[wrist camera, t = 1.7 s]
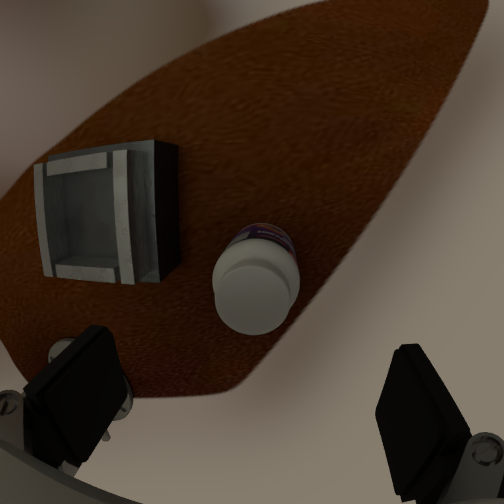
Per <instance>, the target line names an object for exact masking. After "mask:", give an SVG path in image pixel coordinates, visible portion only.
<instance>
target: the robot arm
mask: <svg viewBox="0 0 504 504" xmlns="http://www.w3.org/2000/svg"><path fill="white" fill-rule="evenodd" d="M48 362H49V364H48V365H47V366H46V367H45V368H44V369H43V370H42V371H41V372H39V373H38V374H37V375H36V376H35V377H34V378H33V379H32V380H31V381H30V382H29V383H28V384H27V385H26V386H25V387H24V388H23V390H24V392H23V393H22V394H20V393H19V392H17V391H14V390H4V391H1V392H0V504H142V503H138V502H135V501H132V500H129V499H126V498H123V497H120V496H118V495H115V494H112V493H109V492H107V491H104V490H102V489H99V488H97V487H94V486H92V485H90V484H87V483H85V482H83V481H80V480H78V479H76V478H74V476H75V474H76V472H77V471H78V469H79V468H80V466H81V464H82V463H83V462H86V461H87V460H88V459H89V457H90V455H91V454H92V452H93V451H94V449H95V447H96V446H97V444H98V443H99V441H100V439H102V440H103V441H109V439H110V435H109V433H108V431H107V428H108V427H109V425H110V424H111V422H112V421H116V420H121V419H123V418H125V417H126V416H127V415H128V413H129V412H130V410H131V408H132V404H133V394H132V391H131V387H130V385H129V383H128V381H127V379H126V378H125V376H124V375H123V372H122V369H121V365H120V361H119V357H118V354H117V350H116V346H115V341H114V337H113V334H112V333H111V332H110V331H109V329H108V328H107V327H104V326H99V325H90V326H89V327H88V328H87V329H86V330H85V331H84V332H82V333H81V334H80V335H79V336H78V337H77V338H76V339H75V338H64V339H61V340H59V341H58V342H56V343H55V344H54V345H53V346H52V347H51V349H50V351H49V355H48ZM375 416H376V421H377V424H378V428H379V431H380V435H381V438H382V442H383V446H384V450H385V454H386V457H387V462H388V466H389V469H390V474H391V478H392V482H393V486H394V491H395V493H396V495H400V496H401V501H402V502H407V501H411V500H416V504H504V441H503V440H502V439H501V438H500V437H499V436H497V435H495V434H493V433H488V432H482V433H478V434H476V435H474V436H472V434H471V433H470V428H469V426H468V425H467V423H466V421H465V419H464V417H463V416H462V414H461V412H460V410H459V409H458V407H457V405H456V403H455V401H454V400H453V398H452V396H451V395H450V393H449V391H448V390H447V388H446V386H445V385H444V383H443V381H442V380H441V378H440V377H439V375H438V373H437V372H436V370H435V368H434V367H433V365H432V364H431V362H430V360H429V359H428V357H427V356H426V354H425V353H424V351H423V350H422V348H421V347H420V345H419V344H402V345H401V346H400V347H399V349H396V350H395V351H394V354H393V358H392V361H391V364H390V368H389V371H388V375H387V378H386V381H385V384H384V387H383V390H382V393H381V396H380V399H379V402H378V404H377V407H376V411H375Z"/></svg>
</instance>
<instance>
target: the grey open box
mask: <svg viewBox="0 0 504 504" xmlns="http://www.w3.org/2000/svg"><path fill="white" fill-rule="evenodd" d="M34 188H35V206H36V218H37V228H38V236H39V244H40V251H41V258H42V264H43V270H44V275H45V276H50V277H54V276H55V275H57V277H59V278H68V279H78V280H88V281H99V282H110V283H116V282H117V281H119V280H121V282H122V284H133V285H135V284H136V283H137V282H138V281H141V282H155V283H160V282H161V281H162V280H163V279H164V278H165V277H166V276H167V275H168V274H170V273H171V272H172V271H173V270H174V269H175V268H176V267H177V266H178V265H179V264H180V263H181V257H180V237H179V211H178V145H174V144H170V143H166V142H162V141H158V140H145V141H137V142H128V143H121V144H113V145H106V146H100V147H94V148H88V149H82V150H76V151H71V152H66V153H61V154H56V155H51V156H48V162H47V163H40V164H36V165H34Z"/></svg>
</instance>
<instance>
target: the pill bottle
mask: <svg viewBox="0 0 504 504" xmlns="http://www.w3.org/2000/svg"><path fill="white" fill-rule="evenodd" d="M212 283H213V290H214V294H215V306H216V309H217V312H218V314H219V316H220V318H221V319H222V320H223V322H224V323H225V324H226V325H227V326H229V327H230V328H232V329H233V330H235V331H237V332H240V333H243V334H248V335H260V334H265V333H268V332H270V331H272V330H274V329H276V328H277V327H278V326H279V325H280V324H281V323H282V322H283V321H284V320H285V318H286V317H287V315H288V312H289V309H290V308H291V306H292V305H293V304H294V302H295V300H296V298H297V295H298V292H299V287H300V275H299V270H298V264H297V259H296V253H295V248H294V245H293V243H292V241H291V239H290V238H289V236H288V235H287V234H286V233H285V232H284V231H283V230H281V229H280V228H278V227H276V226H274V225H272V224H268V223H256V224H252V225H249V226H247V227H245V228H243V229H242V230H240V231H239V232H238V233H237V234H236V235H235V237H234V238H233V239H232V241H231V242H230V243H229V245H228V246H227V247H226V249H225V250H224V252H223V253H222V254H221V256H220V257H219V259H218V261H217V263H216V265H215V268H214V271H213V277H212Z"/></svg>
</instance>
